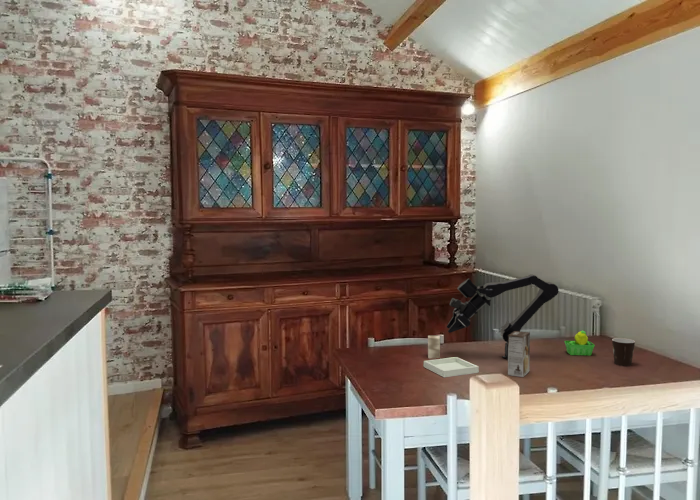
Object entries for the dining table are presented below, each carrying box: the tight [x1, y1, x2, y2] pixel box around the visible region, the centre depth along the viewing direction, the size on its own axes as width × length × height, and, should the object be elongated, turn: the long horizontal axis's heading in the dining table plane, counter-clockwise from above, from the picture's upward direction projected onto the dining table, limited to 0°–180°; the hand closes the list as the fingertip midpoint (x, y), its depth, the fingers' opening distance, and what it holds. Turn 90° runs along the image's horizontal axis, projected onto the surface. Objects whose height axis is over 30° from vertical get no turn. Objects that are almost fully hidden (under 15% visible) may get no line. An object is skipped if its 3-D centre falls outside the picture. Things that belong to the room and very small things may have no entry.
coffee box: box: [507, 330, 531, 378], centre depth 218 cm, size 9×6×16 cm
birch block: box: [427, 335, 441, 359], centre depth 244 cm, size 5×5×9 cm
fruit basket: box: [564, 330, 595, 356], centre depth 247 cm, size 11×9×11 cm
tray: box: [423, 356, 480, 378], centre depth 225 cm, size 16×16×2 cm
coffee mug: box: [611, 337, 636, 367], centre depth 230 cm, size 12×9×10 cm
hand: (447, 329), depth 243 cm, fingers open, 9 cm apart
